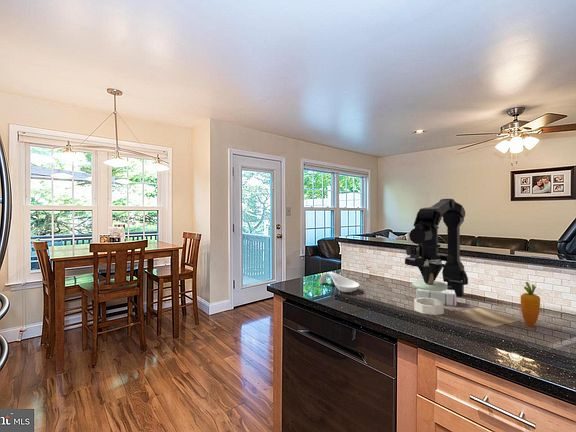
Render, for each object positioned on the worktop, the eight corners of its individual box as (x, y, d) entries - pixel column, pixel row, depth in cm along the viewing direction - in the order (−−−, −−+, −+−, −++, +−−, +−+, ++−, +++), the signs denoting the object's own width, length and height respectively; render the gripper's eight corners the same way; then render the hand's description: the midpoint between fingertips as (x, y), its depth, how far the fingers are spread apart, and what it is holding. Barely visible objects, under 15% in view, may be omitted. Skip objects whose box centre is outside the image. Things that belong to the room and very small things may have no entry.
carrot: (541, 333, 92) (541, 285, 91) (521, 329, 95) (521, 283, 94) (538, 327, 96) (538, 282, 96) (519, 324, 99) (519, 280, 98)
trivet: (480, 309, 113) (480, 307, 113) (520, 323, 100) (520, 320, 100) (454, 315, 108) (454, 312, 108) (492, 329, 95) (492, 326, 95)
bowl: (428, 306, 118) (428, 296, 118) (449, 314, 109) (449, 304, 108) (408, 309, 114) (408, 299, 114) (429, 318, 105) (429, 307, 105)
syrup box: (416, 304, 121) (456, 308, 115) (416, 290, 121) (456, 294, 115) (416, 299, 126) (454, 303, 120) (416, 286, 126) (455, 289, 120)
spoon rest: (364, 291, 141) (364, 276, 140) (348, 296, 134) (348, 280, 133) (329, 282, 160) (329, 269, 159) (313, 285, 153) (313, 272, 152)
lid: (428, 281, 119) (428, 268, 119) (455, 288, 108) (455, 275, 107) (405, 284, 114) (405, 271, 114) (430, 292, 103) (430, 278, 103)
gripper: (430, 238, 121) (430, 275, 122) (394, 240, 115) (394, 280, 115) (454, 240, 111) (454, 281, 111) (416, 243, 104) (416, 287, 105)
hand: (429, 282), depth 111 cm, fingers closed on lid, 3 cm apart
